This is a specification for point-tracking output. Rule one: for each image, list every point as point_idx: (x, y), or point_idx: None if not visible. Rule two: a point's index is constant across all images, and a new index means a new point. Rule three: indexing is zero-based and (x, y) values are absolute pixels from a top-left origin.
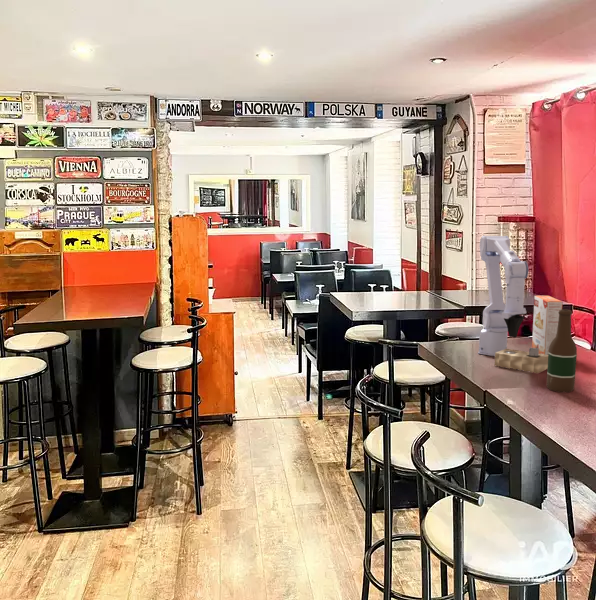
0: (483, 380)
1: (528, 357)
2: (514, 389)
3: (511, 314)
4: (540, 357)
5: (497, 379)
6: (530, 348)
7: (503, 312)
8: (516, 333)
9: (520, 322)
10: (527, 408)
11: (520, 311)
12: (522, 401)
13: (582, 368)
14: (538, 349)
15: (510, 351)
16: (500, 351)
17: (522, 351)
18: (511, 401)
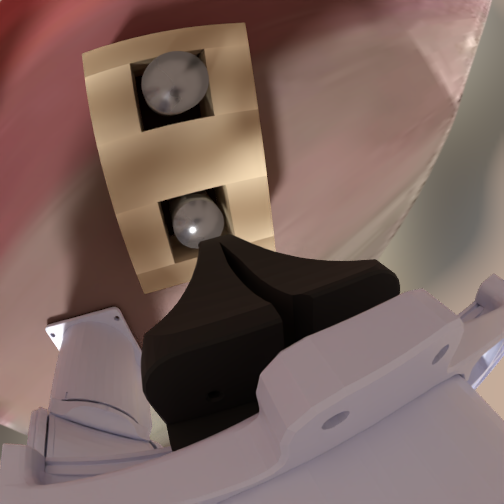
0: (420, 141)
1: (234, 84)
2: (428, 47)
3: (500, 308)
4: (177, 43)
5: (395, 115)
6: (193, 97)
7: (501, 354)
8: (228, 242)
9: (222, 294)
10: (470, 12)
11: (439, 384)
12: (459, 21)
13: (2, 18)
14: (170, 52)
15: (181, 238)
16: None
17: (122, 202)
18: (468, 39)
